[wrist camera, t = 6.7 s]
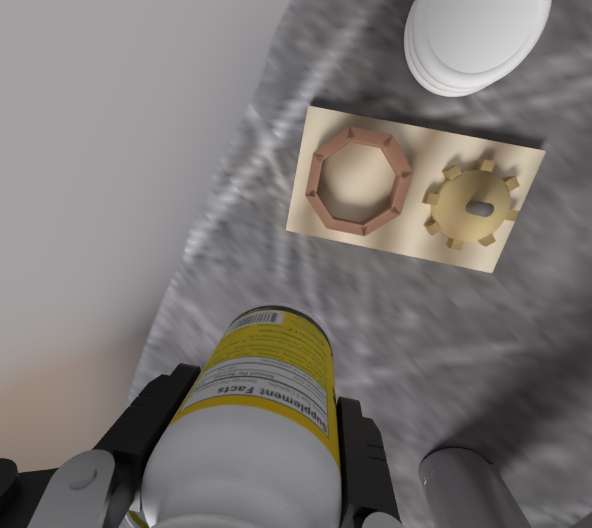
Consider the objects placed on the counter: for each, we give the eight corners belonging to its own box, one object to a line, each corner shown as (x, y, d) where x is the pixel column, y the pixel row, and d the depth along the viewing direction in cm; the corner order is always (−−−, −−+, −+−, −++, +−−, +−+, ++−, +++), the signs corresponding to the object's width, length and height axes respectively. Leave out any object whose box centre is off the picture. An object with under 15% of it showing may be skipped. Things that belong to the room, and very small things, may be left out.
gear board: (536, 152, 26) (581, 146, 21) (485, 269, 30) (514, 286, 25) (308, 108, 27) (305, 94, 22) (287, 228, 30) (280, 237, 26)
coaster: (479, -72, 22) (507, -117, 19) (547, 32, 23) (584, 8, 20) (379, 35, 25) (387, 12, 21) (445, 123, 26) (463, 114, 23)
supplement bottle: (297, 406, 15) (253, 787, 6) (210, 357, 14) (6, 681, 5) (355, 335, 13) (429, 705, 4) (258, 277, 13) (87, 540, 4)
